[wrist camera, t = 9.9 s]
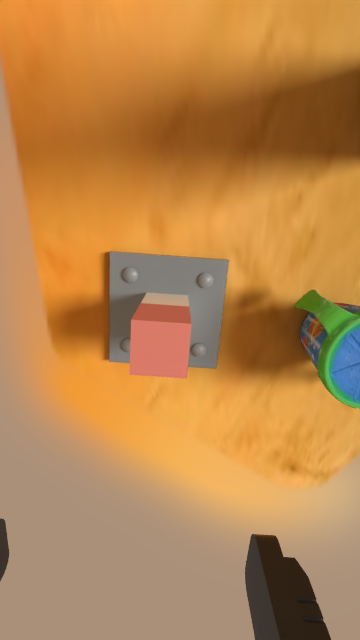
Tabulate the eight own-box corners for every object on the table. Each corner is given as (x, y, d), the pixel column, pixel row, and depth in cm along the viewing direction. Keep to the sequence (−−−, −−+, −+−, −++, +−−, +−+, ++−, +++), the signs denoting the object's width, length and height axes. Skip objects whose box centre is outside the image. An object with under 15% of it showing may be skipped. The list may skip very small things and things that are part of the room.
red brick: (189, 306, 30) (191, 323, 24) (185, 351, 31) (186, 378, 26) (140, 303, 30) (131, 319, 24) (138, 348, 31) (129, 374, 26)
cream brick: (187, 295, 36) (189, 307, 30) (184, 333, 37) (185, 352, 31) (146, 292, 36) (140, 303, 30) (145, 331, 37) (138, 349, 31)
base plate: (227, 259, 36) (229, 260, 34) (215, 365, 40) (216, 369, 38) (111, 251, 35) (109, 252, 34) (111, 358, 39) (108, 362, 38)
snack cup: (393, 348, 39) (464, 387, 29) (325, 394, 41) (370, 444, 31) (330, 256, 36) (387, 265, 26) (259, 310, 37) (287, 337, 28)
